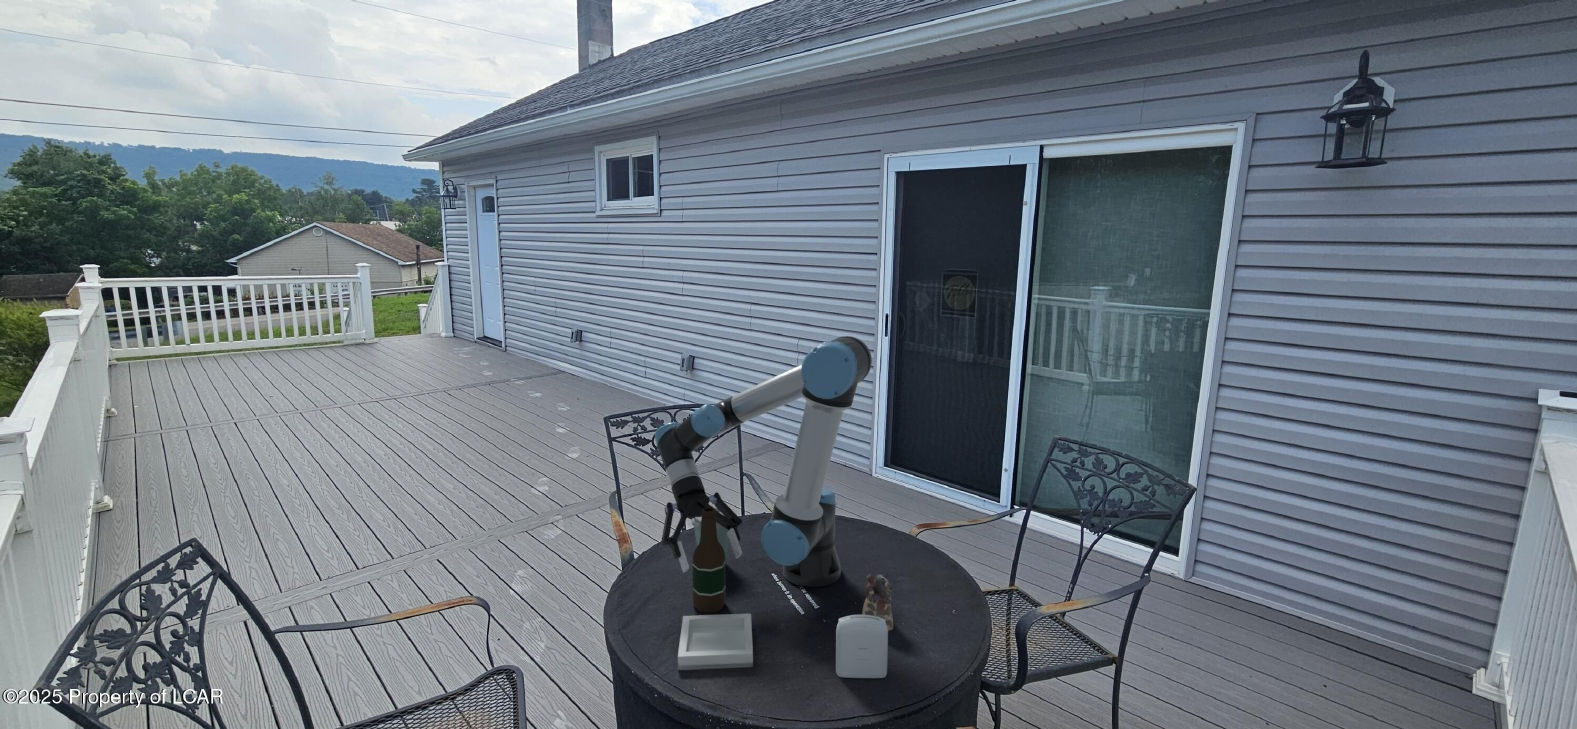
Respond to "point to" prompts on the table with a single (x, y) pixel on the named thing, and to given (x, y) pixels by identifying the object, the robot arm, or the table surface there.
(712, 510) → the beer bottle
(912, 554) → the table surface
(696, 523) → the disposable coffee cup
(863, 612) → the figurine
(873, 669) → the photo printer
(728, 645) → the dock tray
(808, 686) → the table surface
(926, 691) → the table surface
